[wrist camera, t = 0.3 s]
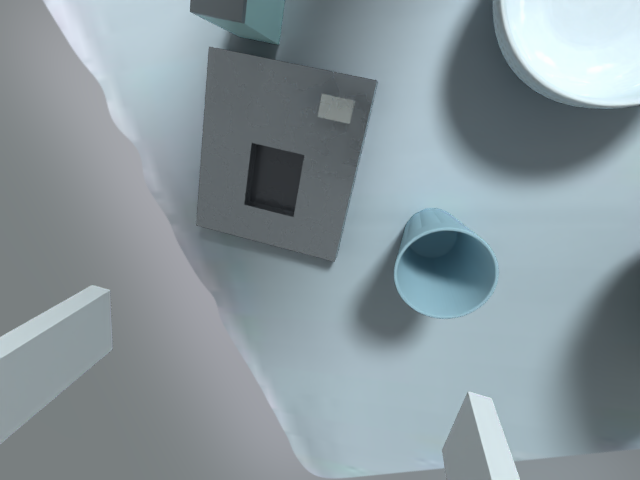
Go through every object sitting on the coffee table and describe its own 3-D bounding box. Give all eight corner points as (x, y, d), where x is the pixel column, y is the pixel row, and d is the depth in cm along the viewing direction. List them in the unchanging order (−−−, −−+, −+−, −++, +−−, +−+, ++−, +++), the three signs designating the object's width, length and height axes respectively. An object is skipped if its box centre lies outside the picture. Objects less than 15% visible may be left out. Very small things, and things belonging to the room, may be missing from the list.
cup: (406, 276, 39) (411, 329, 29) (382, 212, 37) (380, 246, 27) (478, 255, 37) (509, 305, 27) (456, 187, 35) (481, 213, 25)
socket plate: (218, 50, 35) (204, 44, 32) (377, 82, 33) (376, 79, 30) (204, 220, 41) (192, 227, 39) (337, 254, 39) (333, 264, 37)
